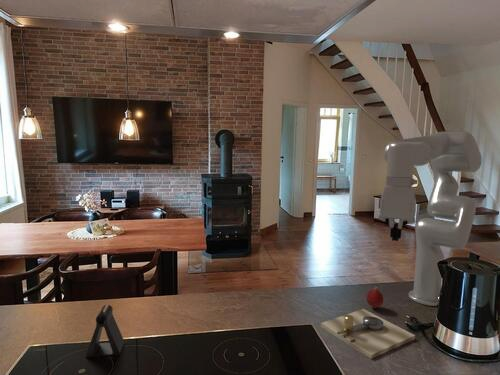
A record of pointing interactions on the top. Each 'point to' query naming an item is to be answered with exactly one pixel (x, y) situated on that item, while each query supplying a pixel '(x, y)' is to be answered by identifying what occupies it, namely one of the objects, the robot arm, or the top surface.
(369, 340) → the stand board
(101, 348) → the dark triangular stand
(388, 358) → the top surface
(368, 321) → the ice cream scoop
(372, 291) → the onion
